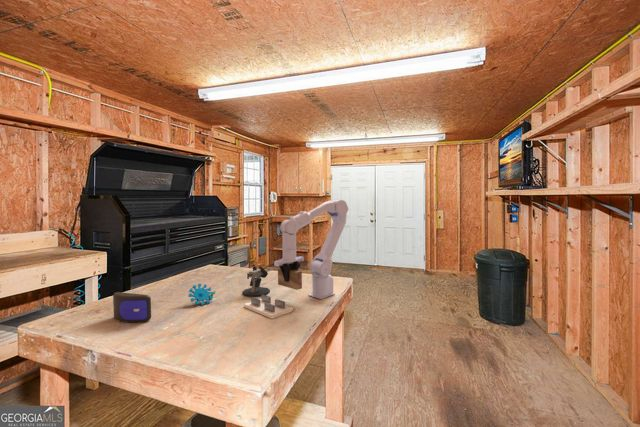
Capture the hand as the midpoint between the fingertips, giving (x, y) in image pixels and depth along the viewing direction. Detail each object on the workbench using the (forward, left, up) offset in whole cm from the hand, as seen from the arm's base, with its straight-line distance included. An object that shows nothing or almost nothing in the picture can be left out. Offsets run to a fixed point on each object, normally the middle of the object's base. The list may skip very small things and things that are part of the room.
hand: (289, 280), depth 122 cm
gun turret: (0, -22, -9) cm, 24 cm away
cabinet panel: (+12, 0, -9) cm, 15 cm away
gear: (+25, -26, -9) cm, 38 cm away
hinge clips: (+11, 0, -8) cm, 14 cm away
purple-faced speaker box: (+50, -29, -9) cm, 59 cm away
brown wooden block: (0, 0, -2) cm, 2 cm away
